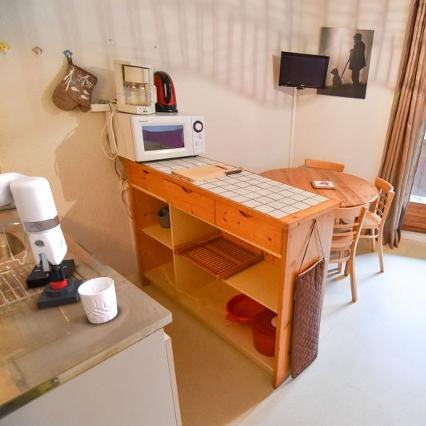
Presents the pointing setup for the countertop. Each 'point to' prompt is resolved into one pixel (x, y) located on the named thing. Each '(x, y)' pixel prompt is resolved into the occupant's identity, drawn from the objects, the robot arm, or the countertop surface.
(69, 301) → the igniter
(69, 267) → the stove panel
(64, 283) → the button
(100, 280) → the white cup
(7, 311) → the countertop surface
